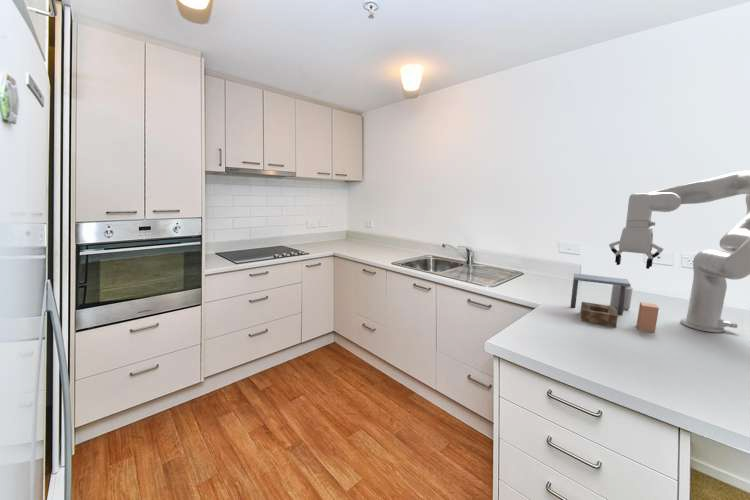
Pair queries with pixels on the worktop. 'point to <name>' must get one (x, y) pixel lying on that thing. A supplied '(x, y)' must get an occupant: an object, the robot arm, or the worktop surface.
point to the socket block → (598, 314)
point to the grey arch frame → (604, 280)
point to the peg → (647, 317)
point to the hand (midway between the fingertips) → (632, 266)
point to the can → (616, 295)
